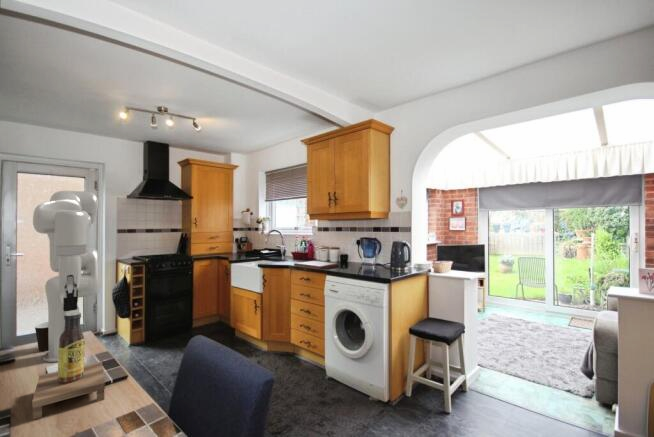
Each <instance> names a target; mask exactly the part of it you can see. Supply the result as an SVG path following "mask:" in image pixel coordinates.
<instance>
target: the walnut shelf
mask: <svg viewBox="0 0 654 437" xmlns="http://www.w3.org/2000/svg"><path fill="white" fill-rule="evenodd" d="M105 389H106V382H105V374H104V366H103V361H97V362H92V363H89V364H84V371H83V376H82V377H81V378H79V379H78V380H75V381H72V382H67V383H60V382H59V381H58V370H57V371H52V372H49V373H48V372H47V373H44V374H39V376H38V380H37V383H36V387H35V390H34V395H33V396H32V398H33V399H32V402H31V403H32V404H31V405H32V406H31V408H32V420H39V419H41V418H43V406H47V405H50V404H54V403H57V402H61V401H64V400H68V399H72V398H76V397H79V396H83V395H87V394H91V393H94V392H96V402H100V401H103V400H105Z"/></svg>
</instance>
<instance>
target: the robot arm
mask: <svg viewBox="0 0 654 437" xmlns="http://www.w3.org/2000/svg"><path fill="white" fill-rule="evenodd" d="M98 199H99V198H98V197H97V195H96V194H95V193H93V192H91V191H81V190H79V191H78V190H59V191H56V192H55V193H53V194H52V195H51V196H50V199H49V201H47V202H43V203H40V204H38V205H37V206H36V207H35V208H34V211H33V216H32V225H33V228H34V230H35V232H37V233H39V234H44V235H45V234H46V235H47V237H48V242H49V265H50V269H51V271H52V272H55V273H58V275H56V276H52V277H51V278H48V280H46V281H45V285H44V289H45V296H46V300H47V310H48V313H47V314H48V321H47V322H48V339H49V351H47V353H45V354H44V355H43V357H42V360H43V361H45V362H47V363H49V362H50V363H51V362H52V363H55V362H58V354H59V340H60V336H61V334H62V333H63V332H64V330H65V328H64V327H65V319H64V316H65V314H68V313H75V312H80V313H81V311H80V308H79V306H78V302H79V298H85V297H87V298H88V297H93V296H96V295H99V293H100V292H101V290H102V277H101V264H100V263H101V262H100V260H101V259H100V254H99V251H98V250H97V248H95V247H87V231H88V230H89V229H90V228H91V226H92V225H93V224H94V223H95V221H96V219H97V215H98V210H99V200H98ZM82 271H83V272H84V273H83V272H82ZM85 272H86V273H85Z"/></svg>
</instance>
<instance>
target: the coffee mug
mask: <svg viewBox="0 0 654 437" xmlns="http://www.w3.org/2000/svg"><path fill="white" fill-rule="evenodd" d="M34 329H35V330H34V331H35V335H36V342H37V348H38V351H39V352H45V353H46V352H49V339H48V321H47V322H43V323H39V324H37V325H35V326H34Z"/></svg>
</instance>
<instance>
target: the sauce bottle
mask: <svg viewBox="0 0 654 437" xmlns="http://www.w3.org/2000/svg"><path fill="white" fill-rule="evenodd" d="M81 317H82V313H81V311H80V312H75V313H68V314H65V316H64V319H65V327H64V328H65V330H64V332H63V333H62V334H61V336H60V340H59V354H58V361H57V371H58V381H59V382H60V383H67V382H72V381H75V380H78V379H79V378H81V377H82V376H83V371H84V365H85V344H86V342H85V340H86V339H85V336H84V333H83V331H82V328H81Z"/></svg>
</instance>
